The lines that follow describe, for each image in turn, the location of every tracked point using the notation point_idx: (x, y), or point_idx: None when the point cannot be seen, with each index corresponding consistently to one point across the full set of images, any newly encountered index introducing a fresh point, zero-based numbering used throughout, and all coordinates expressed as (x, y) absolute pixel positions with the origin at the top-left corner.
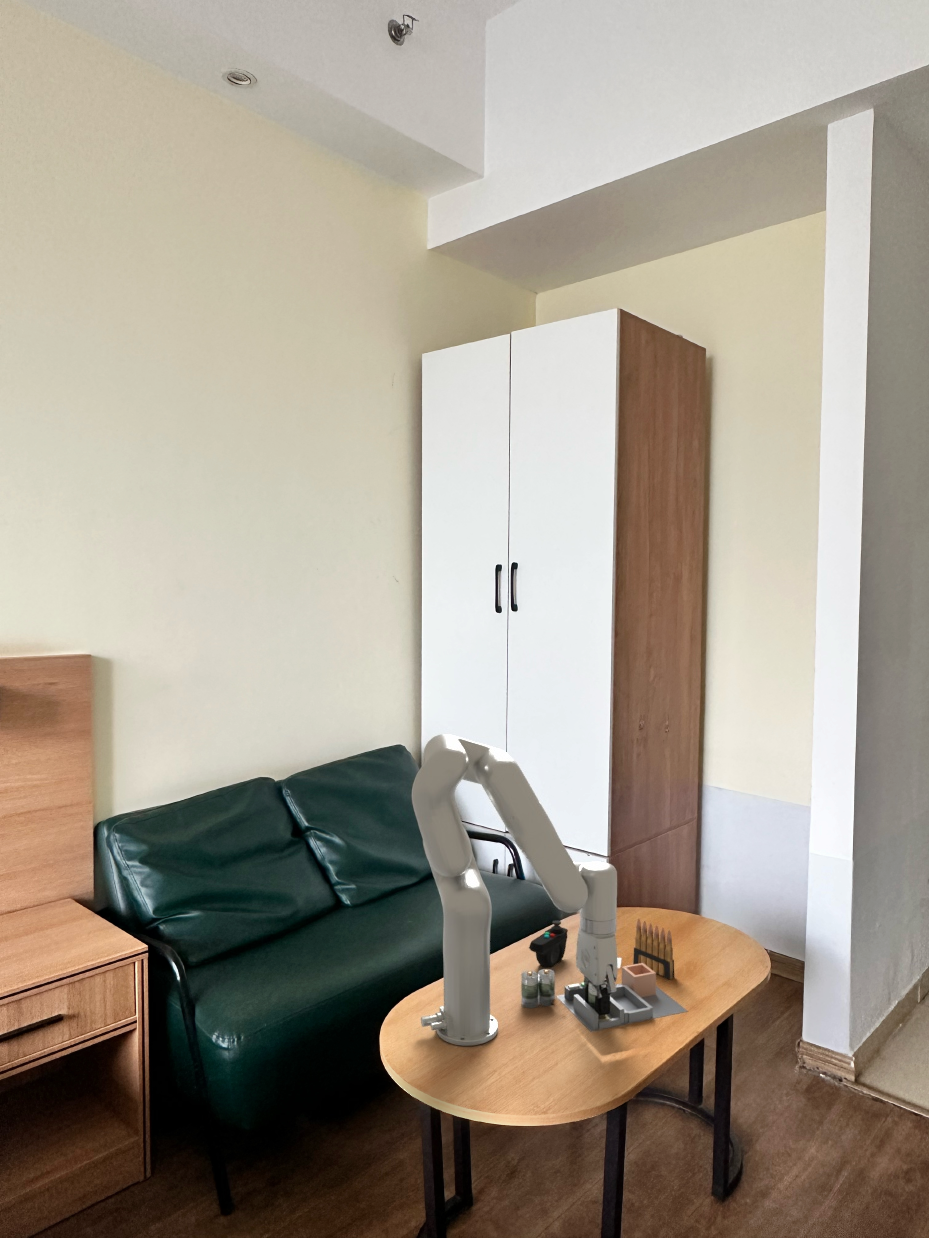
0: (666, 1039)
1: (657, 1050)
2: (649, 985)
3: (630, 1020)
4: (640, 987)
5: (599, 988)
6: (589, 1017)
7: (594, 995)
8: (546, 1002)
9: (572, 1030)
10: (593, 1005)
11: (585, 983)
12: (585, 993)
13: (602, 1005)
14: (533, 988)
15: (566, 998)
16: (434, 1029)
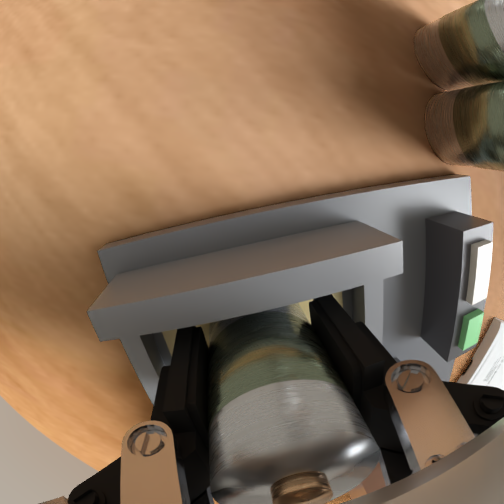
0: (111, 458)
1: (49, 420)
2: (355, 497)
3: None
4: (357, 485)
5: (120, 498)
6: (156, 278)
7: (220, 404)
8: (436, 110)
9: (172, 160)
10: (221, 344)
11: (407, 375)
12: (351, 332)
13: (158, 399)
14: (477, 30)
15: (443, 214)
16: None
